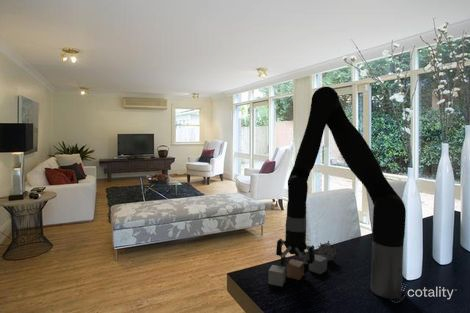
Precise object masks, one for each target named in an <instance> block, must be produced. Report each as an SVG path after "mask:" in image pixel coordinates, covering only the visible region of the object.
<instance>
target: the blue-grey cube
mask: <svg viewBox="0 0 470 313" xmlns="http://www.w3.org/2000/svg"><path fill="white" fill-rule="evenodd" d="M316 254H317V253H315V261H314V262H313V263H312V264H311V263H309V271H310V272H313V273H315V274H318V275H321V274H323V273H325V272H326V271H327V269H328V262H327V258H325V257H322V256H319V255H318V254H317V255H316Z"/></svg>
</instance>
